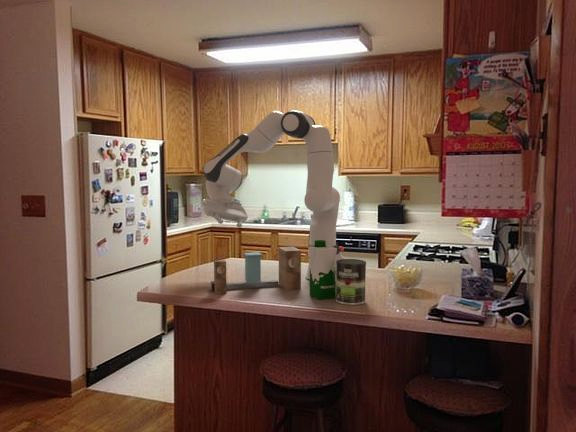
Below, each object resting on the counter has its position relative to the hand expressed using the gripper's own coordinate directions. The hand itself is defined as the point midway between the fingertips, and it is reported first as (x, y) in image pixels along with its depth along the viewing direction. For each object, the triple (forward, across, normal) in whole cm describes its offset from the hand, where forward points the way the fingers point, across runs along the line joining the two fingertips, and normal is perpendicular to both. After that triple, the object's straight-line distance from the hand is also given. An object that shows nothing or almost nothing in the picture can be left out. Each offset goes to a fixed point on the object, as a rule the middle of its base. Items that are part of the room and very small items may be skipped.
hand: (230, 224), depth 208 cm
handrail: (+30, 0, +5) cm, 31 cm away
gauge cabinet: (+35, +14, -3) cm, 38 cm away
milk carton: (+50, +15, -15) cm, 54 cm away
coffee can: (+58, +18, -23) cm, 65 cm away
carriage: (+29, +2, +2) cm, 29 cm away
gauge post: (+33, -11, +7) cm, 35 cm away
